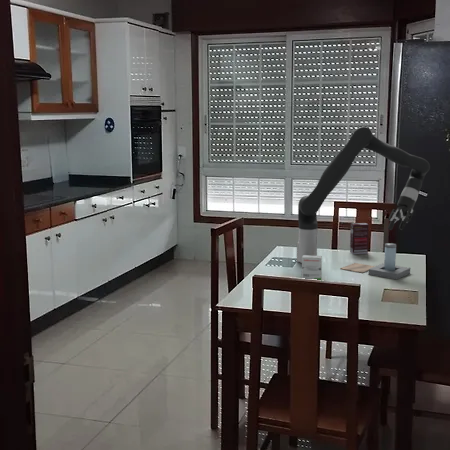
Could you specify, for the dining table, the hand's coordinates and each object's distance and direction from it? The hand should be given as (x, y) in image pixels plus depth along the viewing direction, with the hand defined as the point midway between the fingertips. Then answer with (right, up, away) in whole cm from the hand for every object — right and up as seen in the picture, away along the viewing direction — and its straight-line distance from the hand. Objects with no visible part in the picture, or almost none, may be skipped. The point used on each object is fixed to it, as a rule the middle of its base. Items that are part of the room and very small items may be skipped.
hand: (395, 229), depth 293 cm
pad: (-15, -19, +8) cm, 26 cm away
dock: (-3, -21, -2) cm, 21 cm away
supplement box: (-8, -13, +40) cm, 43 cm away
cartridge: (-3, -21, -2) cm, 21 cm away
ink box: (-41, -24, -15) cm, 50 cm away
